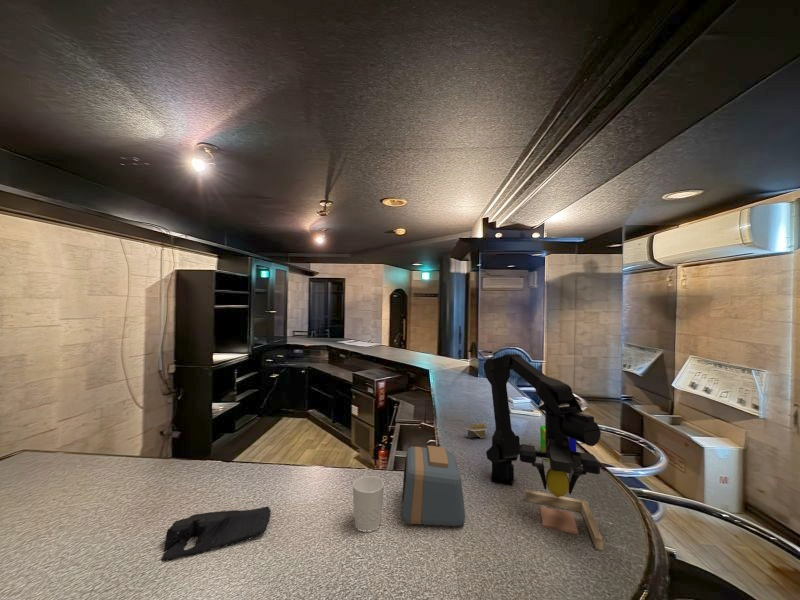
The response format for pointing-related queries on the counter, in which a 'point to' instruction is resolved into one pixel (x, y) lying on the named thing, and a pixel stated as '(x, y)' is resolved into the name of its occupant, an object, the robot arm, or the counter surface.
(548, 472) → the lemon
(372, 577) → the counter surface
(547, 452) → the robot arm
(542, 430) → the puzzle toy
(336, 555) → the counter surface
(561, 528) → the wooden corner frame
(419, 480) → the grey taped box
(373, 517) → the white cup
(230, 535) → the black flat piece
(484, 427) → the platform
